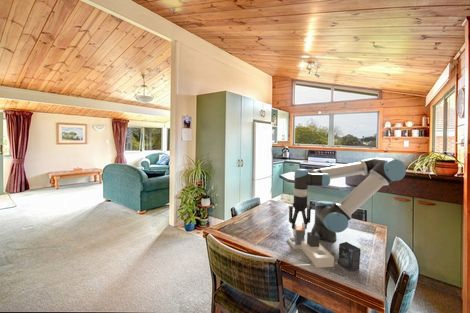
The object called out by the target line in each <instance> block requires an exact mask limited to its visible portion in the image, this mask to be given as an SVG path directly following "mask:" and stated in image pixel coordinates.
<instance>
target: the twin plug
mask: <svg viewBox="0 0 470 313" xmlns="http://www.w3.org/2000/svg"><path fill="white" fill-rule="evenodd" d="M311 231H312V232H309V231H308V232H307V233H306V235H307V236H306V240H307V243H308V245H309V246H310V247H319V243H321V242H320V241H321V240H320V236H319V235H318V234H317V233H316V232H315V228H313V227H312V228H311Z"/></svg>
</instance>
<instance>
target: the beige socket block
mask: <svg viewBox="0 0 470 313" xmlns="http://www.w3.org/2000/svg"><path fill="white" fill-rule="evenodd" d="M300 250H301V251H302V252H303V253H304V254H305V255H306V256H307V258H308V259H309V260H310V261H311V262H312V265H313V266H314V267H315V268H316V269H320V268H321V269H322V268H334V265H335V264H334V263H335V257H334V256H333V255H336V253H335V252H333V251H332V252H330V251H328V250H327V248H325V246H323V245H322V243H321V242H319V247H310V246H309V245H308V243H307V241H301V249H300Z"/></svg>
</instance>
